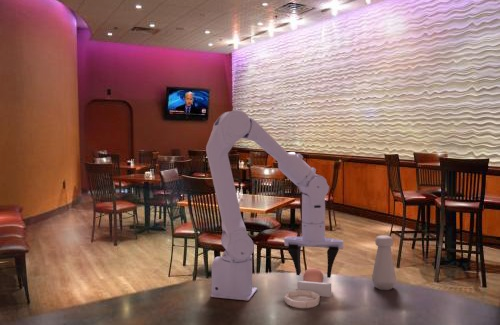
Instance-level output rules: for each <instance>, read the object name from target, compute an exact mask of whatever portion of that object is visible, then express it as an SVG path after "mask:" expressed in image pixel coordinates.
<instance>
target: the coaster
mask: <svg viewBox="0 0 500 325" xmlns="http://www.w3.org/2000/svg"><path fill="white" fill-rule="evenodd" d="M320 297H321V296H320V295H318V294H316V293H314V292H312V291H305V290H297V289H295V290H291V291H287V292H286V294H285V296H284V301H285V303H286V304H287V306H289V305H290V306H289V307H293V308H297V309H311V308H315V307H317V306H318V305H319V303H320V300H321V298H320Z"/></svg>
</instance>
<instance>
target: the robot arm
mask: <svg viewBox="0 0 500 325" xmlns="http://www.w3.org/2000/svg"><path fill="white" fill-rule="evenodd" d="M240 139H244V140H248V141H252V142H254V143H255V144H256V145H257V146H259V147H260V148H261V149H262V150H264V152H266V153H267V154H268V155H269V156H271V157H272V158H273V159H274V160H275V161H277V168H278V171H280V172H281V173H282V174H283V175H284V176H285V177H286V178H288V179H289V180H290V181H291V182H292V183H293V184H294V185H295V186H296V187H297V188H298V190H299V192H300V193H301V236H285V237H284V238H283V240H284V241H283V242H284V246H285V247H288V248H287V251H288V254H289V255H290V257H291V260H292V262H293V265H294V268H295V273H296V276H300V275H301V271H302V270H301V269H302V268H301V251H302V250H301V249H302V247H310V248H326V250H327V251H326V254H327V272H326V278H331V276H332V270H333V266H334V261H335V259H336V257H337V254H338V253H339V250H343V249H344V239H337V238H331V237H326V196H327V194H328V193H329V191H330V185H328V184H329V183H327V182H328V181H327V179H326V177H324V176H322V175H321V174H316V171H317V169H316V168H315V167H313V166H312V167H311V166H310V165H309V164H308V163H307V162H306V161H305V160H303V159H304V156H303V155H302V154H301V153H296V151H295V152H294V151H290V152H287V151H286V150H285V148H283V147H282V146H281V145H280V144H279V142H278V141H276V139H274V138H273V137H272V135H270V133H268V132H267V131H266V130H265V129H264V128H263V127H262V126H261V124H259V123H258V122H257V121H256V120H255V119H254V118H251V117H249V115H247V113H245V112H244V111H242V110H238V109H235V110H231V111H226V112H223V113H222V114H221V115H219V116H218V118H217V119H216V121H215V122H213V126H212V131H211V132H210V136H209V138H208V141H207V143H206V147H205V152H206V156H207V160H208V161H207V162H208V166H209V169H210V175H211V178H212V184H213V187H214V192H215V196H216V201H217V205H218V210H219V214H220V219H221V229H222V234H221V239H220V242H221V246H222V247H223V249H225V250H224V251H223V253H222V254H221V256H216V257H214V259H213V261H212V264H211V294H210V297H212V298H216V299H217V298H220V299H229V300H238V301H239V300H240V301H250V300H251V298H253V296H254V295H255V293H256V292H257V290H258V287H253V255H252V254H253V252H254V249H255V244H254V240H252V238H251V237H250V235H249V234H248V232H247V228H246V225H245V223H244V219H243V217H242V213H241V208H240V205H239V204H240V203H239V199H238V195H237V190H236V186H235V181H234V177H233V172H232V168H231V163H230V158H229V153H230V151H231V149H233V147H234V145H235V144H236V142H238V141H240Z"/></svg>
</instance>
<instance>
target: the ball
mask: <svg viewBox="0 0 500 325" xmlns="http://www.w3.org/2000/svg"><path fill="white" fill-rule="evenodd" d="M302 277H303V278H302V279H303V281H308V282H320V283H324V274H323V272H322V270H320V269H319V268H318V267H309V268H307V269H306V270H305V271H304V273H303V276H302Z"/></svg>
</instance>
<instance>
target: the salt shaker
mask: <svg viewBox="0 0 500 325" xmlns="http://www.w3.org/2000/svg"><path fill="white" fill-rule="evenodd" d="M375 245H376V246H377V249H376V255H375V260H374V264H373V270H372V274H371V279H372V282H373V284H374V287H375V289H378V290H380V291H390V290H392V289H393V288H394V287H395V286H394V285H395V284H396V281H397V276H396V271H395V266H394V259H393V253H392V247H394V246H393V245H394V239H393V237H392V236H390V235H386V234H385V235H384V234H383V235H377V236H376V237H375Z"/></svg>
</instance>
